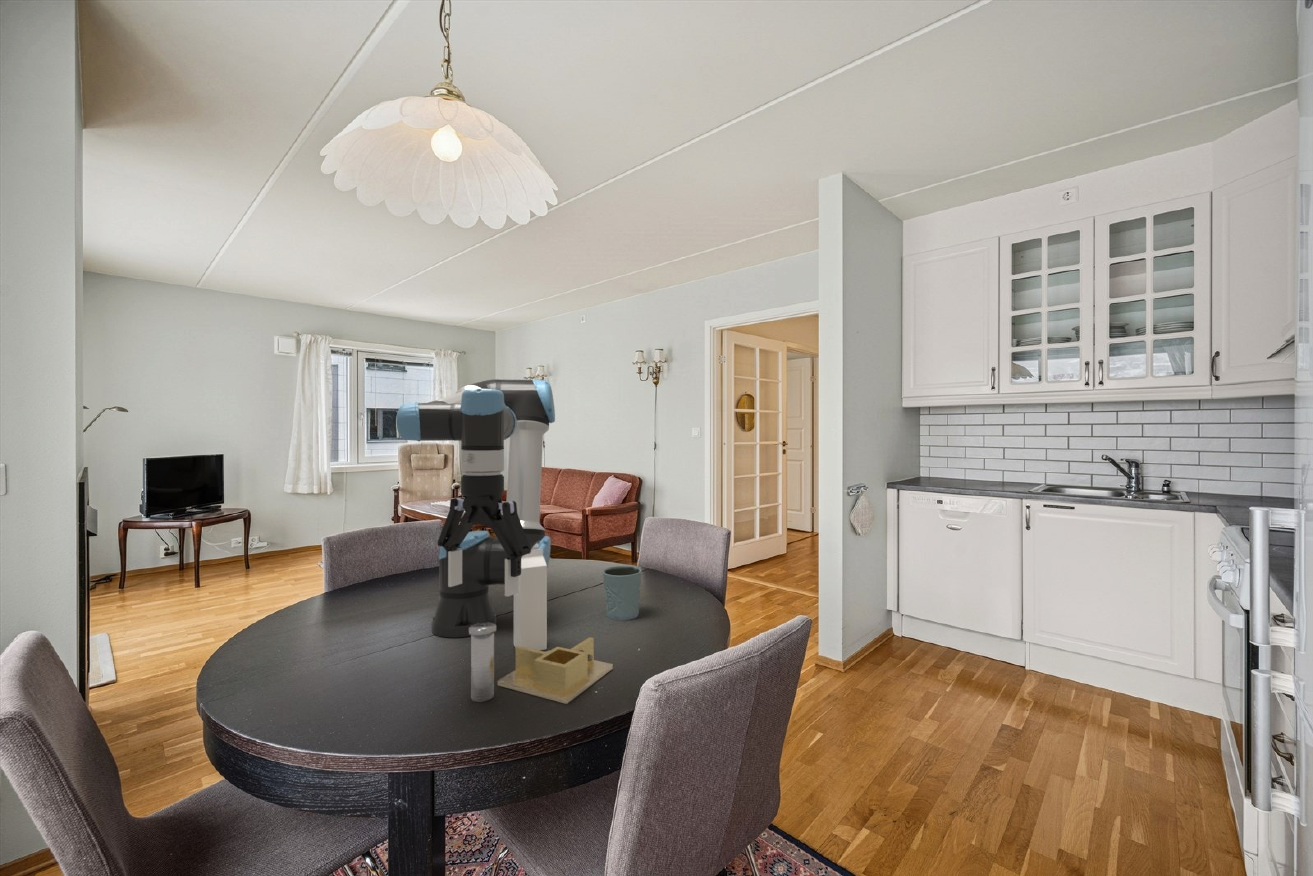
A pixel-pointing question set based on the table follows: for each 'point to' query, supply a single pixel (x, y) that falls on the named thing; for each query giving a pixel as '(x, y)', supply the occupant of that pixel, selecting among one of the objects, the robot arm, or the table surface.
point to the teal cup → (622, 592)
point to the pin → (482, 661)
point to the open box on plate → (556, 671)
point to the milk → (531, 603)
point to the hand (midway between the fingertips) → (482, 589)
